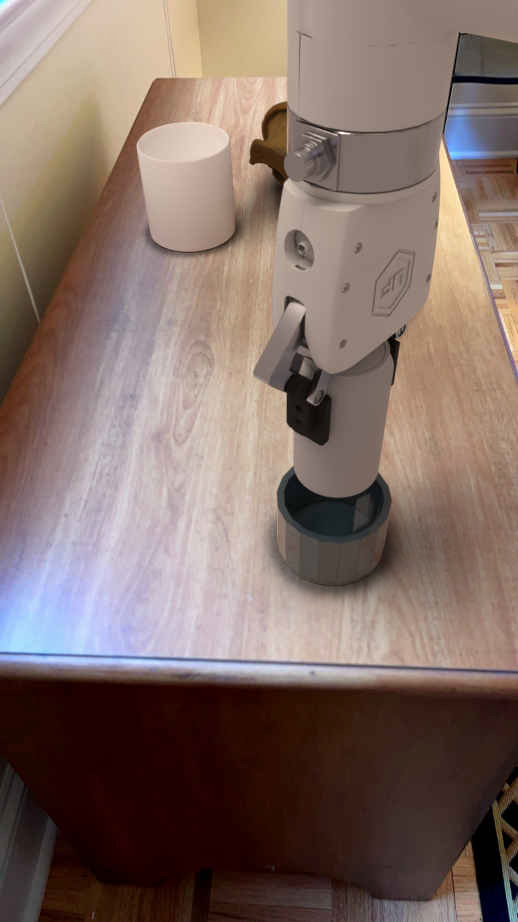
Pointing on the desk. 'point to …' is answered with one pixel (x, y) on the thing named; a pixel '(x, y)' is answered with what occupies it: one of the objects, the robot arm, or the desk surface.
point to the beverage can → (348, 428)
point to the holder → (331, 530)
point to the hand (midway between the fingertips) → (341, 404)
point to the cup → (188, 185)
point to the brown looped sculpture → (272, 142)
